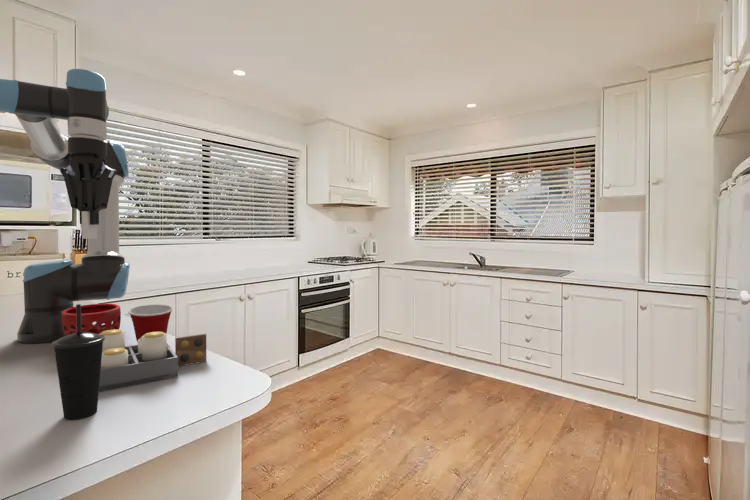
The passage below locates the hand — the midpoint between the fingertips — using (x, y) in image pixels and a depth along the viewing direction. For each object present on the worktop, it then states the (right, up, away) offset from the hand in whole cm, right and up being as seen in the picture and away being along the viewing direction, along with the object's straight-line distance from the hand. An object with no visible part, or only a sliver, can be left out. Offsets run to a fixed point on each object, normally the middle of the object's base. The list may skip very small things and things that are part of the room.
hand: (89, 238), depth 96 cm
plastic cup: (+7, -31, +14) cm, 35 cm away
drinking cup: (+15, -33, -24) cm, 43 cm away
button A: (+7, -27, -3) cm, 28 cm away
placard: (+23, -31, +4) cm, 39 cm away
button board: (+13, -32, -3) cm, 34 cm away
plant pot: (-9, -31, +13) cm, 34 cm away
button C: (+12, -30, -9) cm, 34 cm away
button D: (+18, -27, -4) cm, 33 cm away
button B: (+13, -30, +2) cm, 33 cm away
